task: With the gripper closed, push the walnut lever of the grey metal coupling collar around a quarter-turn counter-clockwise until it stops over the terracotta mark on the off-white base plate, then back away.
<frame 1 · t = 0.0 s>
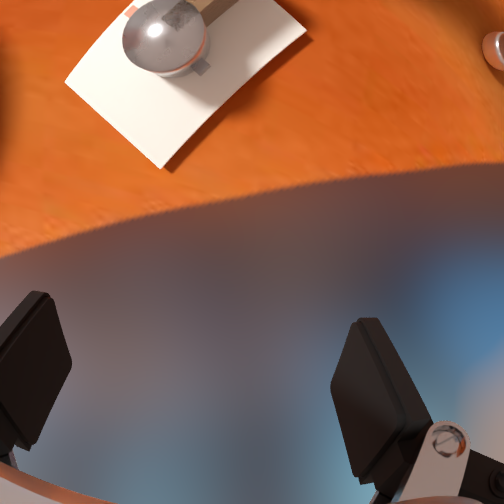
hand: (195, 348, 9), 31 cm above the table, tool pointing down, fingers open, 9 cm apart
plastic bottle: (490, 52, 30), on the table
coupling: (200, 11, 25), point 5 cm above the table, hinge at 0.0°
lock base: (178, 48, 31), on the table
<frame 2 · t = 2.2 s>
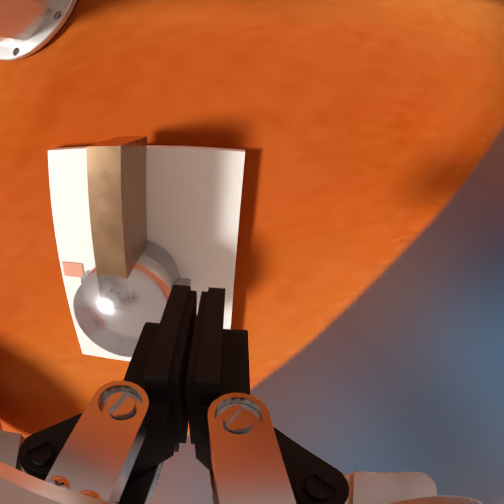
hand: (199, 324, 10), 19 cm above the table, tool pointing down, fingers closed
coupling: (124, 248, 24), point 5 cm above the table, hinge at 0.0°
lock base: (144, 268, 30), on the table
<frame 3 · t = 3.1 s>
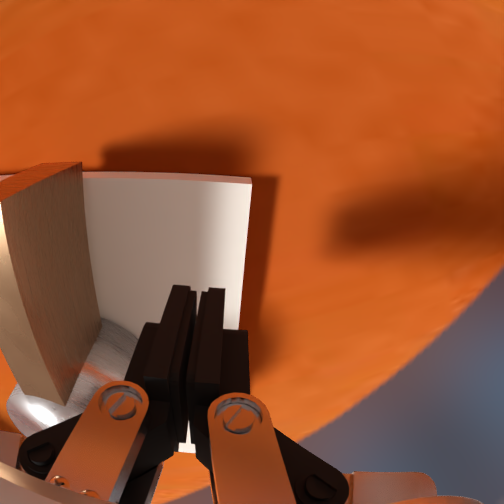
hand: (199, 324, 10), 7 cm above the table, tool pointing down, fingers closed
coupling: (64, 344, 13), point 5 cm above the table, hinge at 0.0°
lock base: (107, 344, 20), on the table
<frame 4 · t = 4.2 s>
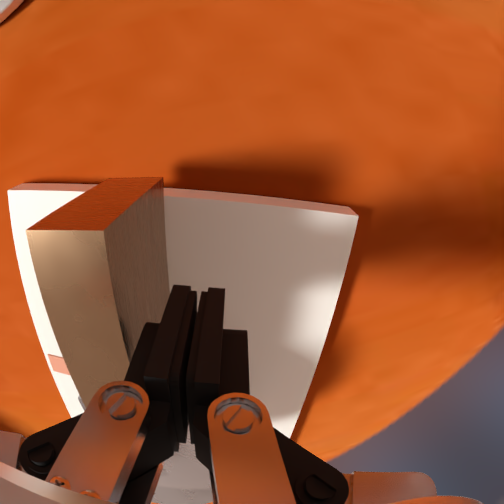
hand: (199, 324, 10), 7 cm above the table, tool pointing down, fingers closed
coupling: (141, 379, 13), point 5 cm above the table, hinge at 3.8°, touching gripper
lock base: (170, 368, 20), on the table
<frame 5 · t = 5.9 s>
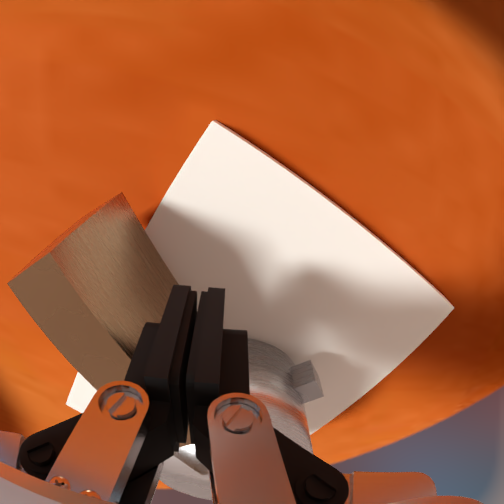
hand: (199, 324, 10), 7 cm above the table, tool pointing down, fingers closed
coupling: (189, 380, 14), point 5 cm above the table, hinge at 60.1°, touching gripper
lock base: (234, 364, 20), on the table
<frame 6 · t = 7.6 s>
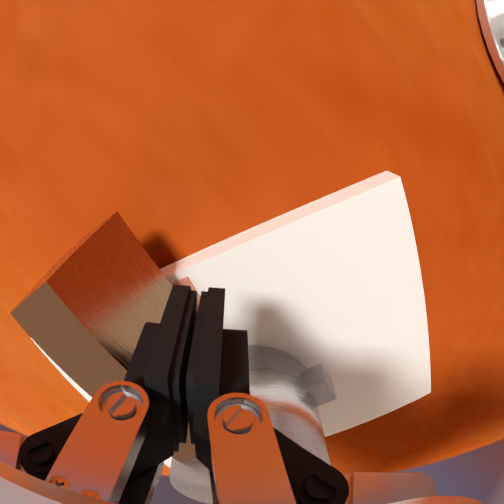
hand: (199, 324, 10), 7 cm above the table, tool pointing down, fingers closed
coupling: (200, 393, 14), point 5 cm above the table, hinge at 95.7°, touching gripper
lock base: (246, 371, 20), on the table
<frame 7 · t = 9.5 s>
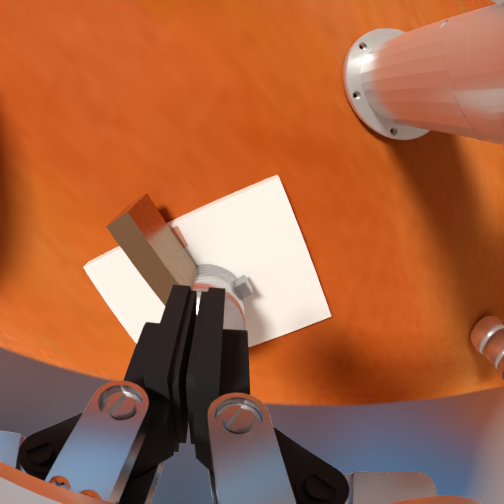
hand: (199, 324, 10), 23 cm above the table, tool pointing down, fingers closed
plastic bottle: (479, 325, 43), on the table
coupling: (180, 280, 30), point 5 cm above the table, hinge at 95.8°
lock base: (208, 288, 36), on the table
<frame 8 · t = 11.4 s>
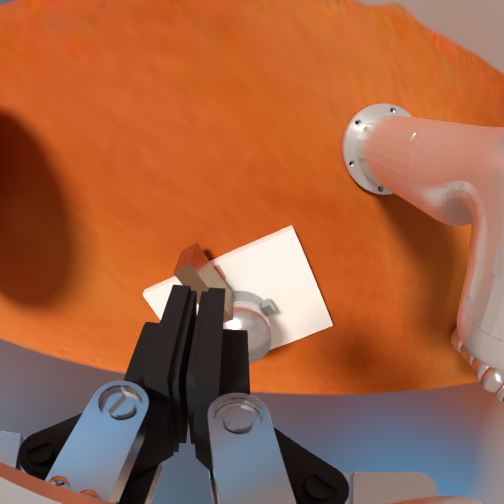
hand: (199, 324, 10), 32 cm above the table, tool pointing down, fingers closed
plastic bottle: (459, 328, 54), on the table
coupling: (223, 305, 42), point 5 cm above the table, hinge at 95.8°
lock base: (240, 306, 48), on the table
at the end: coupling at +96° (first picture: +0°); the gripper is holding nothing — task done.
